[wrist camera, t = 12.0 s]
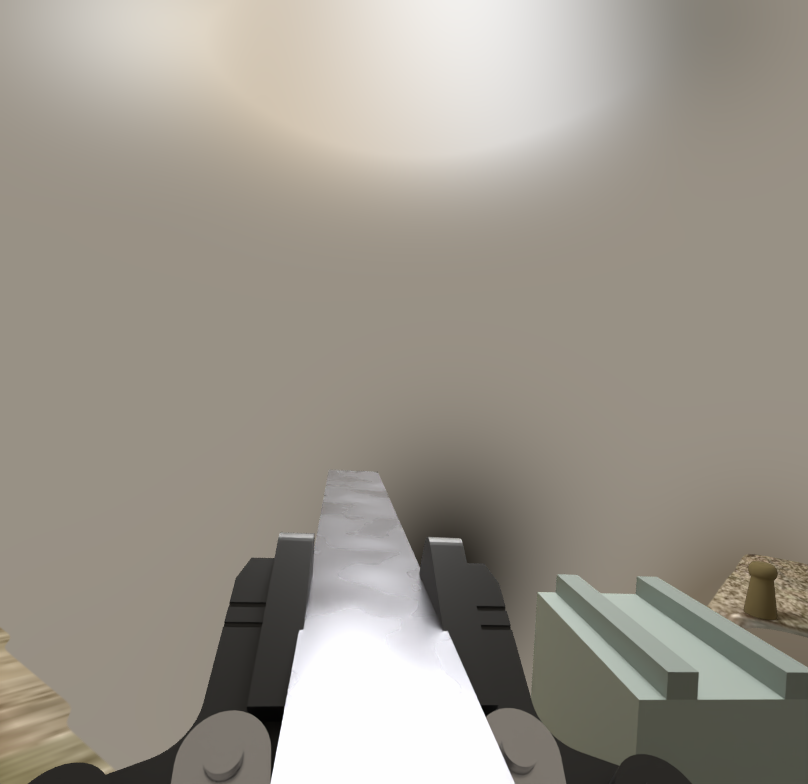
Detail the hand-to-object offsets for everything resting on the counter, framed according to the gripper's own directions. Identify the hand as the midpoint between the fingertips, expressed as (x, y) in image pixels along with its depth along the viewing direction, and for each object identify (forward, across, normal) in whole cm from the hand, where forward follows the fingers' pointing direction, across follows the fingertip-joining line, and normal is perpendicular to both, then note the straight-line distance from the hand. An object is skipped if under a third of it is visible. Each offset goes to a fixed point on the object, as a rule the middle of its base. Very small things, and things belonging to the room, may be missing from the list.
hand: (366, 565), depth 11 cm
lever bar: (+2, 0, +5) cm, 5 cm away
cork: (+59, -91, +79) cm, 134 cm away
